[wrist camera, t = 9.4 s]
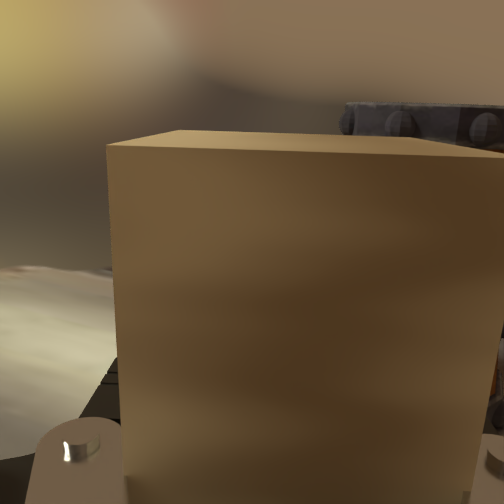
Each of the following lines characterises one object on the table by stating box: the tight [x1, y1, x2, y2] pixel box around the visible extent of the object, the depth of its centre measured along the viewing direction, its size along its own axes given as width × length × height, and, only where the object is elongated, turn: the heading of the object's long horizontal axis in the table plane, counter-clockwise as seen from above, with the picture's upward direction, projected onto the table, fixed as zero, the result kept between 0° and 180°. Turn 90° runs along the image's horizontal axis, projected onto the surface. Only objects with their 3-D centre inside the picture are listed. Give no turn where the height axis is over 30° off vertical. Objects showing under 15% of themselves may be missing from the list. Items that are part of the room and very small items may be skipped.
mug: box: [339, 102, 504, 437], centre depth 31 cm, size 19×14×20 cm
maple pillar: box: [106, 130, 504, 504], centre depth 9 cm, size 4×4×12 cm
